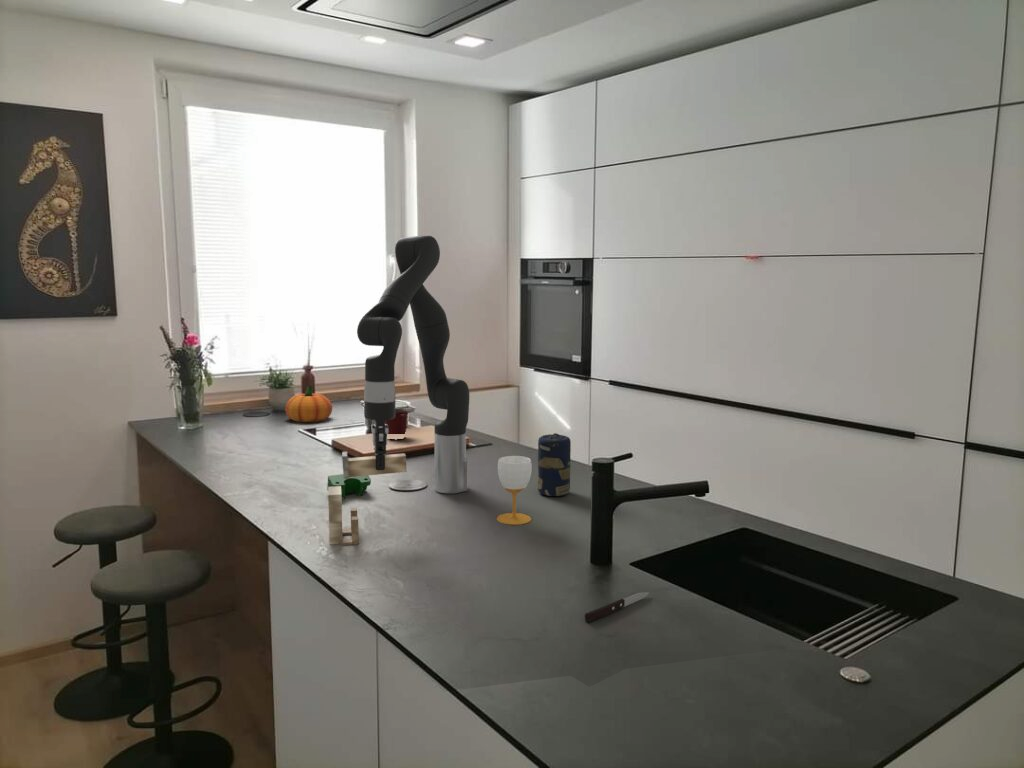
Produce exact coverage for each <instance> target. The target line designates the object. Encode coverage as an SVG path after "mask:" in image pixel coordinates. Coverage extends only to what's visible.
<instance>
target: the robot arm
mask: <svg viewBox="0 0 1024 768" xmlns="http://www.w3.org/2000/svg"><path fill="white" fill-rule="evenodd" d="M394 255H395V260H396V263H397V268H398V271H399V273H400V275H398V276H397V277H396V278H394V279H393V280H392V281H391V282H390V283H389V284H388V285H387V286H386V288H385V289H384V291H383V293H382V295H381V296H380V298H379V300H378V302H377V303H376V304H375V305H373V306H372V308H370V309H369V310H368V311H367V312H366V313H365V314H364V315H363V316H362V317H361V319H360V321H359V323H358V325H357V328H356V329H357V330H356V335H357V338H358V340H359V342H360V343H361V344H363V345H365V346H373V347H383V348H382V351H381V352H380V354H376V355H370V356H368V357H367V358H366V359H365V362H364V369H365V370H364V372H365V373H364V378H365V379H364V380H365V381H364V388H363V410H364V411H363V416H364V419H366V420H369V421H374V424H371V434H372V435H371V436H372V437H371V438H372V445H373V450H374V456H376V470H384V469H385V455H387V445H388V439H387V434H388V425H385V421H386V420H390V419H393V418H395V408H396V385H395V364H396V358H397V353H398V350H399V347H400V344H401V340H402V337H403V327H402V325H401V323H400V321H402V319H403V318H404V316H405V314H406V312H407V310H408V308H409V306H410V311H411V313H412V314H411V315H412V319H413V324H414V328H415V333H416V337H417V341H418V345H419V349H420V354H421V359H422V362H423V367H424V374H425V383H426V390H427V391H426V392H427V395H428V400H429V402H430V403H431V405H432V406H433V408H436V409H439V410H446V417H445V418H444V419H442V420H439V421H437V422H436V423H435V424H434V428H433V429H434V491H436V493H437V492H438V493H442V494H459V493H462V492H468V459H467V426H468V421H469V415H470V414H469V413H470V388H469V385H468V383H467V382H466V381H465V380H463V379H457V378H449V377H447V374H446V371H445V366H444V357H445V354H446V351H447V348H448V345H449V342H450V336H451V335H450V333H451V332H450V327H449V323H448V318H447V314H446V311H445V309H444V308H443V307H442V305H440V303H439V302H438V301H437V299H435V297H433V296H432V294H431V293H430V292H429V291H428V289H427V288H426V287H425V285H424V283H425V282H426V280H427V279H428V278H429V276H430V275H431V274H432V273H433V272H434V270H435V269H436V267H437V266H438V264H439V261H440V256H441V250H440V245H439V242H438V241H437V239H436V238H435V237H434V236H432V235H416V236H407V237H401V238H398V239H397V240H396V243H395V247H394Z"/></svg>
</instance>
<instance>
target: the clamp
mask: <svg viewBox="0 0 1024 768" xmlns="http://www.w3.org/2000/svg"><path fill="white" fill-rule="evenodd" d="M371 479H372V478H371V477H370V475H367V476H357V477H349V478H347V479H344V475H343V473H340V474H334V475H333V474H332V475H328V476H327V488H326V489H327V491H328V487H334V486H341V494H342V499H345V498H346V495H348V494H358V495H359V497H362V496H363V493H364V492H365V491H367V489H368V487H369V486H370V485H371V483H372V480H371Z"/></svg>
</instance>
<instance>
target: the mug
mask: <svg viewBox="0 0 1024 768" xmlns="http://www.w3.org/2000/svg"><path fill="white" fill-rule="evenodd" d="M407 418H408V410H407V409H406V408H399V407H397V408H396V407H395V418H393V419H390V420H386V421H385V425H388V434H405V432H406V433H407V423H408V422H407V421H408V419H407Z"/></svg>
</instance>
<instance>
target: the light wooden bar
mask: <svg viewBox="0 0 1024 768" xmlns="http://www.w3.org/2000/svg"><path fill="white" fill-rule="evenodd" d="M341 452H342V453H341V457H342V458H341V459H342V460H341V461H342V472H343V473H342V474H343V475H344V479H347V478H349V477H357V476H367V475H368V476H377V475H385V474H387V475H388V474H398V473H407V472H408V471H407V455H406V453H403V452H402V453H394V454H393V453H392V454H385V469H384V470H376V456H375V455H371V456H362V457H361V456H360V457H359V456H357V457H349V456H348V451H341Z"/></svg>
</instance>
